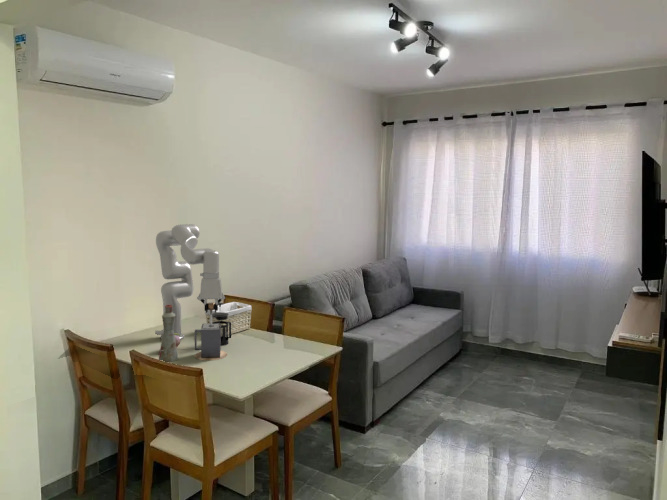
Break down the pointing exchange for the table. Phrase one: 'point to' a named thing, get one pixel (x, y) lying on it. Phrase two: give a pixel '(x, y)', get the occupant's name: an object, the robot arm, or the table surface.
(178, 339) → the decorative fruit
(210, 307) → the plunger
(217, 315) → the french press
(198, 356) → the coaster
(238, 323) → the storage basket
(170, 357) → the bottle
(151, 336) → the table surface
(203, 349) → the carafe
